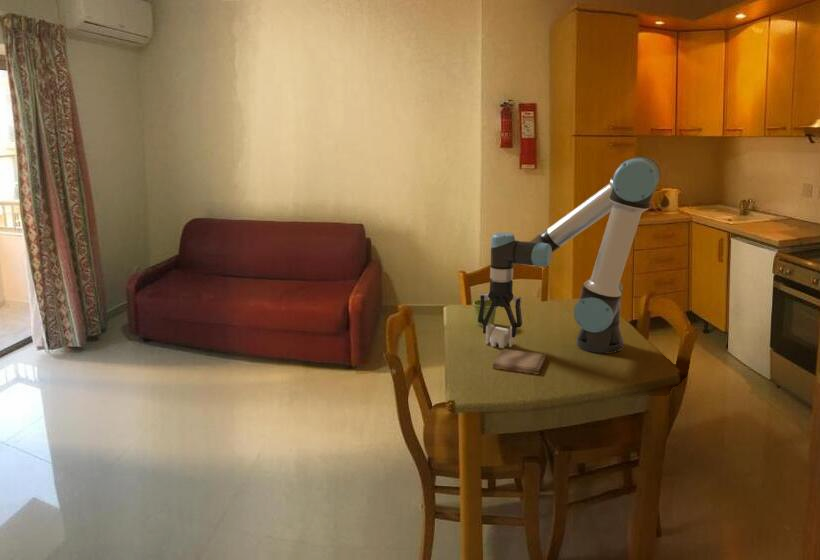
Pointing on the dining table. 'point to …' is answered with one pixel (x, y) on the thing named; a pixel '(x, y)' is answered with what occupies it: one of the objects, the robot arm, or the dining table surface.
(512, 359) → the folded cloth
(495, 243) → the robot arm
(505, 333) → the elephant figurine
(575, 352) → the dining table surface
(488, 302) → the plant pot
